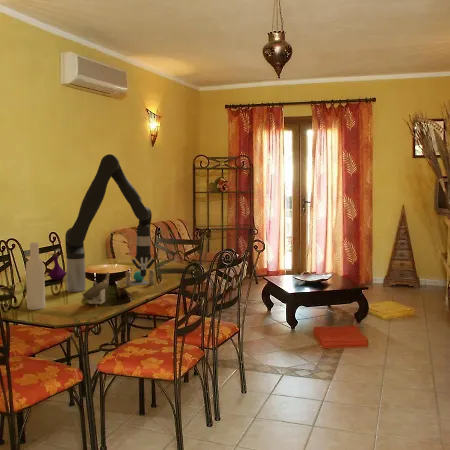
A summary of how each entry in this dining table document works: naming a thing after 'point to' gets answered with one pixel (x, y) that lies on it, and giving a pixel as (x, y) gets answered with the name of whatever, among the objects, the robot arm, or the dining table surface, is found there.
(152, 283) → the right post
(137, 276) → the ball
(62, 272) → the perfume bottle
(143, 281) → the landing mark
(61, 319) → the dining table surface
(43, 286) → the bottle
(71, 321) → the dining table surface
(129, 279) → the left post
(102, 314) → the dining table surface
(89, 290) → the wood carving
